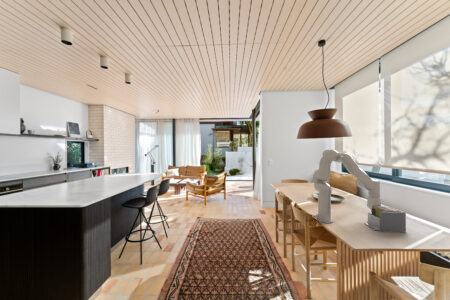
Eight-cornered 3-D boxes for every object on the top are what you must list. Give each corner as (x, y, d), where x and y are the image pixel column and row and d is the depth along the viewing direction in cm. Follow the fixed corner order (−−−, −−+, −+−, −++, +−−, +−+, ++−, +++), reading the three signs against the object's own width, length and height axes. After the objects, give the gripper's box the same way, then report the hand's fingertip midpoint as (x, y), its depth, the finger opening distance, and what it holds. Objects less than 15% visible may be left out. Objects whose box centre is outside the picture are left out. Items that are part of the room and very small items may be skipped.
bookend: (376, 230, 140) (375, 218, 140) (364, 224, 152) (364, 212, 152) (381, 230, 139) (381, 218, 139) (369, 224, 152) (369, 212, 152)
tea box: (400, 231, 139) (400, 210, 139) (385, 230, 139) (385, 210, 139) (384, 223, 154) (384, 204, 154) (371, 223, 154) (371, 204, 154)
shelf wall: (380, 231, 138) (380, 212, 138) (367, 224, 152) (367, 206, 152) (405, 232, 137) (405, 212, 137) (390, 224, 151) (390, 206, 151)
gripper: (363, 193, 165) (363, 214, 165) (375, 197, 150) (376, 220, 150) (372, 193, 164) (372, 214, 164) (385, 197, 149) (386, 220, 149)
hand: (374, 217), depth 157 cm, fingers closed
